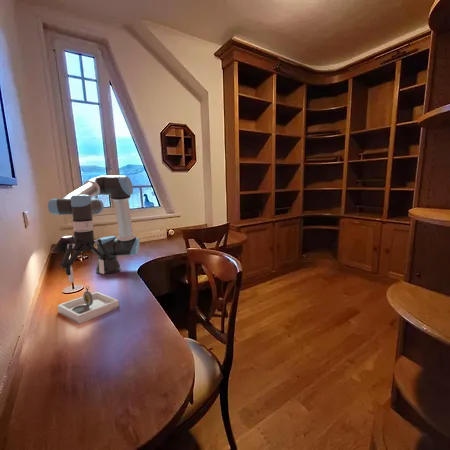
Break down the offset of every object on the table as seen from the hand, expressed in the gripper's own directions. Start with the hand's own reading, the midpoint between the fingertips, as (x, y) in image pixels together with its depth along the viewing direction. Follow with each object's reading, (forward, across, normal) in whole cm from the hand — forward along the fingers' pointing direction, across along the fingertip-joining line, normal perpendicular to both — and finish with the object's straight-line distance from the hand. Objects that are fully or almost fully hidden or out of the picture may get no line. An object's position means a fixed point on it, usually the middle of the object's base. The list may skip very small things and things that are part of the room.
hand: (87, 277), depth 112 cm
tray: (+15, 0, 0) cm, 15 cm away
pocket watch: (+14, -3, 0) cm, 15 cm away
